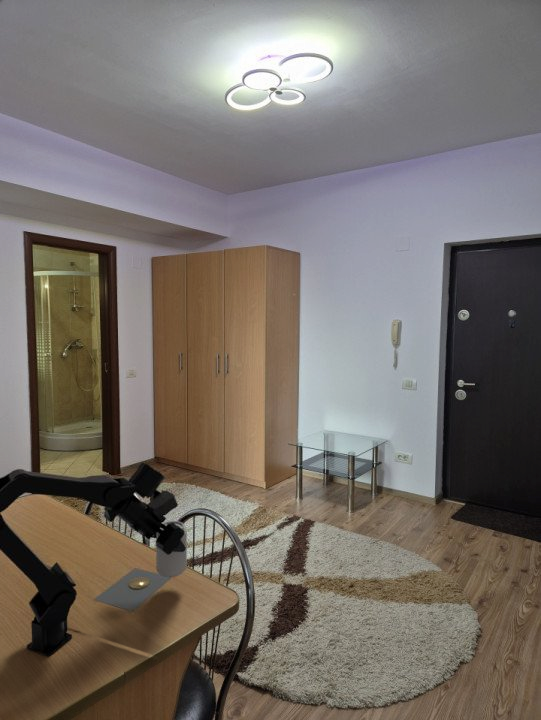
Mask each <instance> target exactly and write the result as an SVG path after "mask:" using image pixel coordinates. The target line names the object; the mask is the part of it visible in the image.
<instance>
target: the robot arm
mask: <svg viewBox="0 0 541 720" xmlns="http://www.w3.org/2000/svg"><path fill="white" fill-rule="evenodd" d="M165 479H166V476H164V475H163V474H162V473H161V472H159V471H158V470H156V469H155V468H153V467H151V466H150V465H149V464H148V463H146V462H144V461H142V462H141V463H140V464H139V466H138V468H137V469H136V470H135V471H134V473H133V474H132V475H131V477H129V479H127V478H125V477H114V478H113V477H111V476H109V475H105V474H99V475H89V476H85V477H76V476H68V475H59V474H51V473H46V472H37V471H36V472H35V471H28V470H25V469H22V468H18V469H17V468H16V469H14V470H12V471H10V472H9V473H8V474H6V475H4V476H2V477H0V551H1V552H2V553H3V554H4V555H5V556H6V557H7V559H9V560H10V561H11V562H12V563H13V564H14V565H15V566H16V567H17V568H18V570H20V571H21V572H22V573H23V574H24V575H25V576H26V578H28V579H29V580H30V581H31V582H32V584H34V586H35V587H36V589H37V591H36V592H35V594H34V595H33V597H32V598H31V600H29V602H28V605H29V607H30V609H31V611H32V612H33V614H34V617H33V620H31V623H30V626H31V627H30V628H31V642H29V643H28V644H27V645H26V649H28V650H29V651H33V652H36V653H39V654H41V655H44V656H47V657H50V656H52V655H53V654H54V653H55V652H56V651H58V650H59V649H60V648H62V646H64V645H65V644H66V643H68V642H69V641H70V640H71V639H72V638H73V634H71V633H69V632H68V629H69V628H68V616H69V612H70V609H71V607H72V605H74V603H75V601H76V598H77V595H78V593H77V590H76V589H75V587H76V586H77V584H76V582H75V581H74V580H73V579H72V577H71V576H70V574H69V573H68V572H67V571H65V570H63V568H62V567H61V566H60V564H59V562H58V561H56V562H55V563H54V564H53V565H52V566H50V565H47V564H46V563H45V562H44V561H43V560H42V559H41V558H40V557H39V556H38V555H37V554H36V552H35V551H34V550H33V549H32V548H30V546H29V545H28V544H27V543H26V542H25V541H24V540H23V539H22V538H21V537H20V536H19V535H18V534H17V532H15V530H14V529H12V527H11V526H10V525H9V524H8V523H7V522H6V521H5V519H4V517H3V515H2V514H1V513H2V512H4V511H5V510H7V509H8V508H9V507H10V506H11V505H12V504H13V503H14V502H15V501H16V500H17V499H18V498H19V497H21V496H22V495H25V494H34V495H44V496H52V497H62V498H63V497H64V498H72V499H80V500H83V501H86V502H89V503H91V504H93V505H97V506H100V507H103V509H104V513H103V518H105V520H107V521H108V522H109V523H112V522H113V521H114V520H115V519H116V517H118V518H119V519H121V520H122V521H123V522H125V523H126V524H127V525H128V527H130V528H131V529H133V530H134V531H135V532H137V534H138V533H139V534H140V535H141V536H143V537H145V538H146V539H148V540H151V538H152V539H155V547H156V546H157V547H158V548H159V549H161V550H162V551H163V552H165V553H166V554H167V555H169V554H171V553H172V552H184V551H185V549H186V547H185V546H184V544H183V542H182V541H181V538H182V537H183V535H184V533H185V531H184V530H183V529H181V528H180V527H179V526H177V525H175V524H174V523H170V524H167V526H166V525H164V524H163V523H164V522H166V521H165V520H167V518H166V517H165V516H166V515H167V514H168V513H170V512H172V511H173V510H174V509H176V508H177V507H178V506H179V504H178V502H177V499H176V497H175V495H174V493H172V492H170V491H168V490H163V489H162V490H161V492H160V491H159V490H158V488H159V487H160V485H161V484H162V483H163V482H164V480H165ZM135 494H137V495H138V496H139V497H141V498H142V499H145V498H147V499H149V502H148V503H146V502H144V501H142V500H141V499H139V498H138V497H137V496H135ZM160 528H162V529H163V530H162V529H160ZM157 532H158V533H159V534H160V536H159V537H158V538H157V540H156V533H157Z"/></svg>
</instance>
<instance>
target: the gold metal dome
mask: <svg viewBox="0 0 541 720" xmlns="http://www.w3.org/2000/svg"><path fill="white" fill-rule="evenodd" d="M148 585H149V579H147V578H145V577H138V578H135V579H133V580H131V581H130V582H129V587H130V588H132V589H142V588H145V587H147V586H148Z"/></svg>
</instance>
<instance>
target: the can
mask: <svg viewBox="0 0 541 720" xmlns="http://www.w3.org/2000/svg"><path fill="white" fill-rule="evenodd" d="M170 523H174V524H175V525H177V526H179V527H180V528H181V529H183V530H184V531H185V533H184V535H183V537H182V538H181V541H182V542H183V544H184V546H185V547H186V549H185V551H184V552H172V553H171V554H169V555H167V554H166V553H165V552H163V551H162V550H161V549H159V548H158V547H157V546H156V545H155V547H156V549H155V550H156V551H155V553H156V556H155V560H156V563H155V564H156V567H155V569H156V573H158V574H160V575H161V576H163V577H170V578H171V577H172V578H175V577H178V576H181V575H182V574H183V573H184V572H185V571H186V570H187V567H188V565H187V564H188V563H187V561H188V560H187V559H188V557H187V556H188V555H187V553H188V551H187V549H188V548H187V547H188V546H187V545H188V541H187V540H188V535H187V534H188V533H187V532H188V531H187V529H186V528H185V524H184V523H183V522H181V521H179V520H170V521H164V522H163V524H164V525H166V526H167V524H170ZM160 529H162V528H160ZM162 530H163V529H162ZM159 536H160V534H159V533H158V532H157V533H156V538H155V541H156V540H157V538H158V537H159ZM172 578H171V579H172Z"/></svg>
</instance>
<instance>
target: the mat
mask: <svg viewBox="0 0 541 720" xmlns="http://www.w3.org/2000/svg"><path fill="white" fill-rule="evenodd" d="M138 577H145V578H147V579H149V585H148V586H147V587H145V588H142V589H132V588H130V587H129V582H130V581H131V580H133V579H135V578H138ZM172 578H173V577H171V578H170V577H163V576H161V575H160V574H159V573H158V572H154V571H149V570H145V569H140V568H137V567H134V568H133V569H132V570H130V571H128V573H127V574H125V575H124V576H122V577H120V579H119V580H117V581H116V582H114V583H113V584H112V585H110V586H109V587H108V588H106V589H105V590H104V591H103V592H101V593H100V594H99V595H98V596H96V597H95V598H94V599H93V601H96V602H99V603H102V604H106V605H108V606H109V605H110V606H114V607H117V608H120V609H123V610H126V611H129V612H135V611H136V610H137V609H138V608H139V607H140V606H141V605H143V604H144V603H146V601H147V600H148V599H150V597H152V596H153V595H154V594H155V593H156V592H158V590H159V589H160V588H162V587H163V586H164V585H165V584H166V583H167V582H169V581H170V580H171V579H172Z"/></svg>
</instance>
